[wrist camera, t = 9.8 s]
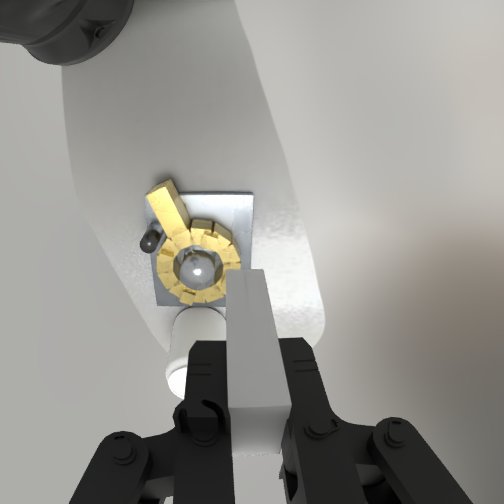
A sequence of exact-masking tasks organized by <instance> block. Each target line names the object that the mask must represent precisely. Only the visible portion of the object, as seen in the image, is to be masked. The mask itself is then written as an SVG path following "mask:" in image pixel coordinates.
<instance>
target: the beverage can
mask: <svg viewBox="0 0 504 504" xmlns="http://www.w3.org/2000/svg"><path fill="white" fill-rule="evenodd" d="M196 340H226V320H225V319H224V318H223V316H222V315H221V314H219V313H218V312H216V311H215V310H212V309H210V308H206V307H192V308H189V309H186V310H184V311H183V312H181V313H180V314H179V315H178V316H177V318H176V319H175V322H174V327H173V333H172V338H171V344H170V349H169V355H168V361H167V367H166V379H167V381H168V385H169V388H170V390H171V391H172V392H173V393H174V394H175V395H176V396H178V397H180V398H182V399H184V394H185V383H186V376H187V374H186V373H187V366H188V354H189V350H190V349H191V347H192V346H193V344H194V343H195V341H196Z"/></svg>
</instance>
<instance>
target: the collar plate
mask: <svg viewBox="0 0 504 504" xmlns="http://www.w3.org/2000/svg"><path fill="white" fill-rule="evenodd" d="M147 194H148V193H147ZM147 194H146V195H147ZM178 194H179V196H180V198H181V200H182V202H183V204H184V206H185V208H186V210H187V212H188V214H189V216H190V218H191V221H192V222H193V219H202V220H212V225H213V224H214V223H215V222H217V223H218V224H220V225H221V226H222V227H224V228H225V229H227V230H228V231H230V232H231V234H233V237H234V239H235V241H236V243H237V245H238V247H239V249H240V258H241V267H240V269H250V264H251V240H252V216H253V193H248V192H179V193H178ZM146 195H145V203H146V216H147V227H148V229H147V231H146V232H145V234H144V236H143V238H142V239H141V241H140V248H141V250H142V251H143V252H145V253H150V256H151V264H152V272H153V280H154V287H155V294H156V301H157V306H191V305H188V304H185V303H182V302H179V300H180V298H179V297H177V296H176V295H174V294H172V293H170V292H169V289H166V288H165V286H164V284H163V283H162V281H161V280H160V278H159V276H158V272H157V254H158V251H159V248H160V246H161V244H162V242H163V240H164V239H165V237H166V236H167V235H166V233H165V231H164V229H163V227H162V225H161V224H160V222H159V220H158V218H157V216H156V214H155V212H154V210H153V208H152V207H151V205H150V203H149V201H148V199H147V197H146ZM176 260H177V262H178V264H179V265H180V267H181V269H180V280H181V282H182V283H183V284H184V285H185V286H186V287H187V288H189V289H191V290H197V291H199V290H204V289H206V288H208V287H209V286H210V285H211V284H212V283H213V281H214V273H216V272H217V270H218V269H219V268H220V267H221V266H222V264H223V262H222V260H221V258H220V256H219V254H218V253H217V252H215V251H211V250H208V249H205V248H202V247H200V245H191V246H188V247H186V248H183V249H181V250H180V251H179V252H178V254H177V255H176ZM192 306H196V307H226V295H225V294H224V297H222V298H219V299H217V300H214V301H211V302H208V303H207V301H206V299H205V303H198V302H193V303H192Z"/></svg>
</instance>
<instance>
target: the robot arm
mask: <svg viewBox="0 0 504 504" xmlns="http://www.w3.org/2000/svg"><path fill="white" fill-rule="evenodd" d="M133 1H134V0H0V42H4V43H13V44H20V45H22V46H23V47H24V48H26V49H27V50H28V52H29V53H30V54H31V55H32V56H33V57H34V58H36V59H37V60H39V61H41V62H44V63H47V64H53V65H72V64H77V63H80V62H82V61H85V60H87V59H89V58H91V57H93V56H95V55H96V54H98V53H99V52H101V51H102V50H103V49H104V48H106V47H107V46H108V45H109V44H110V43H111V42H112V41H113V40H114V39H115V38H116V36H117V35H118V34H119V33H120V31H121V30H122V28H123V27H124V25H125V24H126V22H127V20H128V18H129V15H130V13H131V10H132V6H133ZM186 374H187V376H186V383H185V394H184V400H183V401H182V402H181V403H180V404H179V405H178V406H177V407H176V408H175V411H174V414H173V420H174V424H175V427H174V428H173V429H172V430H170V431H168V432H167V433H163V434H161V435H156V436H151V437H146V438H141V437H140V436H138V435H136V434H134V433H132V432H126V431H120V432H114V433H112V434H110V435H108V436H106V437H105V438H104V440H103V441H102V442H101V443H100V445H99V446H98V448H97V450H96V452H95V454H94V456H93V458H92V459H91V461H90V463H89V465H88V467H87V469H86V471H85V473H84V475H83V477H82V479H81V480H80V482H79V484H78V486H77V488H76V490H75V492H74V494H73V496H72V498H71V500H70V502H69V504H164V501H165V498H166V497H170V496H173V504H235V495H234V478H233V460H232V456H249V455H268V454H280V451H281V449H282V455H283V464H282V466H281V470H280V474H279V479H283V482H284V489H285V495H286V502H287V504H473V503H472V502H471V500H470V499H469V498H468V496H467V495H466V494H465V492H464V491H463V490H462V488H461V487H460V486H459V484H458V483H457V482H456V480H455V479H454V478H453V477H452V475H451V474H450V473H449V471H448V470H447V469H446V467H445V466H444V465H443V464H442V462H441V461H440V459H439V458H438V457H437V456H436V454H435V453H434V452H433V450H432V449H431V448H430V446H429V445H428V444H427V443H426V441H425V440H424V439H423V438H422V436H421V435H420V434H419V433H418V431H417V430H416V429H415V427H414V426H413V425H412V424H410V422H408V421H407V420H404V419H402V418H397V417H390V418H386V419H383V420H382V421H380V422H379V423H378V424H377V425H376V426H366V425H357V424H352V423H348V422H345V421H344V420H341V419H340V418H339V417H338V416H337V415H335V413H334V412H333V411H332V409H331V407H330V405H329V401H328V398H327V395H326V392H325V388H324V385H323V382H322V379H321V375H320V372H319V371H318V366H317V363H316V361H315V357H314V353H313V350H312V347H311V346H310V345H309V344H308V343H307V342H306V341H305V340H304V339H303V337H299V338H278V336H277V332H276V327H275V322H274V317H273V313H272V308H271V303H270V298H269V294H268V289H267V284H266V279H265V275H264V270H263V269H226V340H196V341H195V343H194V344H193V346H192V347H191V349H190V350H189V354H188V366H187V373H186Z"/></svg>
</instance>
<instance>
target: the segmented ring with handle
mask: <svg viewBox="0 0 504 504" xmlns="http://www.w3.org/2000/svg"><path fill="white" fill-rule="evenodd" d="M146 197H147V199H148V201H149V203H150V205H151V207H152V208H153V210H154V212H155V214H156V216H157V218H158V220H159V222H160V224H161V225H162V227H163V229H164V231H165V233H166V235H167V236H166V237H165V239H164V240H163V242H162V244H161V246H160V248H159V251H158V254H157V272H158V276H159V278H160V280H161V281H162V283H163V284H164V286H165V288H166V289H169V292H170V293H172V294H174V295H176V296H177V297H179V298H180V300H179V302H182V303H185V304H188V305H191V306H192V303H193V302H198V303H205V299H206V301H207V303H208V302H211V301H214V300H217V299H219V298H222V297H224V294H225V295H226V269H240V267H241V258H240V249H239V247H238V245H237V243H236V241H235V239H234V237H233V234H231V232H230V231H228V230H227V229H225V228H224V227H222V226H221V225H220V224H218V223H217V222H215V223H214V224H213V225H212V220H202V219H193V222H192V221H191V218H190V216H189V214H188V212H187V210H186V208H185V206H184V204H183V202H182V200H181V198H180V196H179V194H178V192H177V190H176V188H175V186H174V184H173V182H172V180H171V179H169V180H167V181H165V182H163V183H161V184H159V185H157V186H155V187H153V188H152V189H151V190H150V192H149V193H148V194H147V195H146ZM191 245H200V247H202V248H205V249H208V250H211V251H215V252H217V253H218V254H219V256H220V258H221V260H222V262H223V264H222V266H221V267H220V268H219V269H218V270H217V272H216V273H214V281H213V283H212V284H211V285H210V286H209V287H208V288H206V289H204V290H199V291H197V290H191V289H189V288H187V287H186V286H185V285H184V284H183V283H182V282H181V280H180V269H181V267H180V265H179V264H178V262H177V260H176V255H177V254H178V252H179V251H180V250H181V249H183V248H186V247H188V246H191Z"/></svg>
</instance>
